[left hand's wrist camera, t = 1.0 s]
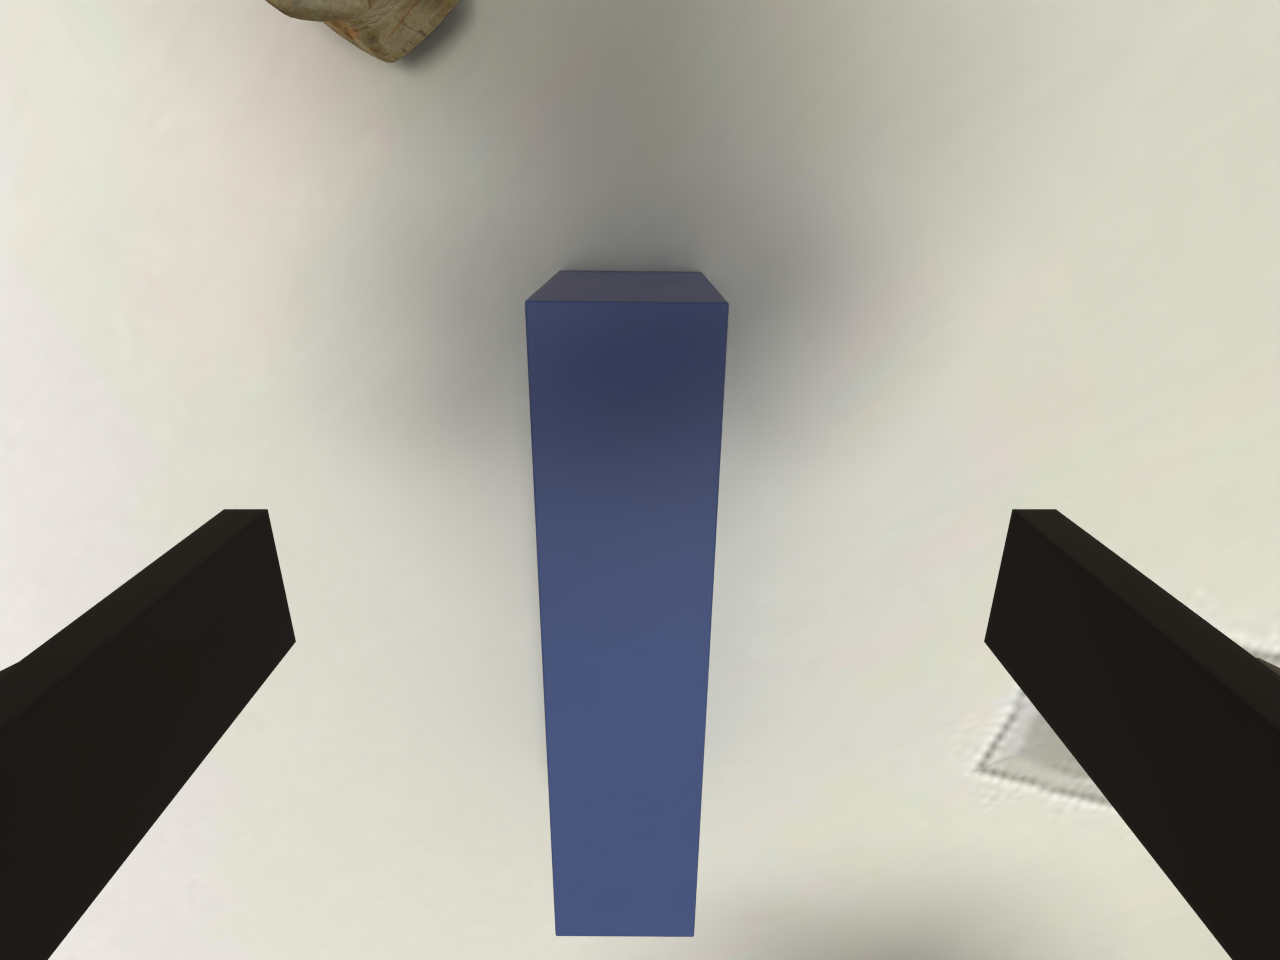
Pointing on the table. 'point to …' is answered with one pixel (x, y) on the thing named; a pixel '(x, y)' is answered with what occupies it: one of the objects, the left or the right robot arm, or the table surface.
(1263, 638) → the table surface
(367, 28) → the sculpture
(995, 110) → the table surface
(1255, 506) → the table surface
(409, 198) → the table surface
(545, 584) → the box
